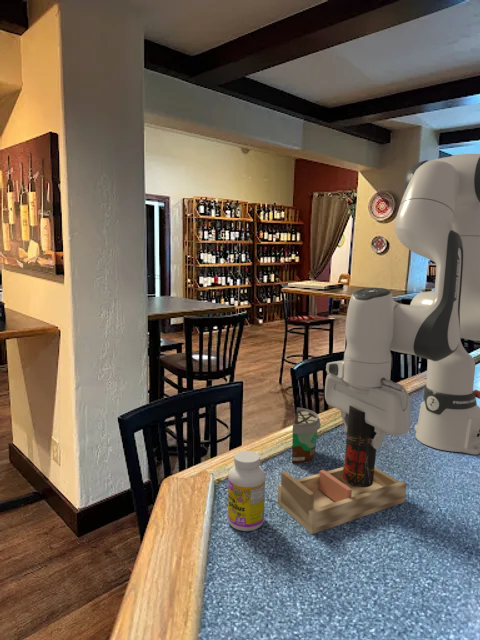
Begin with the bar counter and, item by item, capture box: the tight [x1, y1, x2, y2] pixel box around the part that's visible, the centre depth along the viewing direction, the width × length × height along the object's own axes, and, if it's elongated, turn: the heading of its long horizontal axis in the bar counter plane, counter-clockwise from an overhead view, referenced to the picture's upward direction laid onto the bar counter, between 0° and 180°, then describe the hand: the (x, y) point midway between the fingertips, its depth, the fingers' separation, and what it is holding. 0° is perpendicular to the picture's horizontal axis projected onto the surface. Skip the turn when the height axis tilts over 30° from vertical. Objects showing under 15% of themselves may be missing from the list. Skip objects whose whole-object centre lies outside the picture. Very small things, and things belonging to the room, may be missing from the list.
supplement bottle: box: [227, 450, 266, 532], centre depth 83 cm, size 7×7×13 cm
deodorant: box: [343, 406, 377, 487], centre depth 91 cm, size 6×6×15 cm
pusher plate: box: [318, 469, 352, 502], centre depth 90 cm, size 1×8×4 cm, turn 28°
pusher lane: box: [277, 466, 408, 535], centre depth 90 cm, size 23×11×7 cm, turn 118°
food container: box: [291, 407, 321, 465], centre depth 110 cm, size 12×6×10 cm, turn 168°
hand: (362, 440), depth 91 cm, fingers closed on deodorant, 6 cm apart
